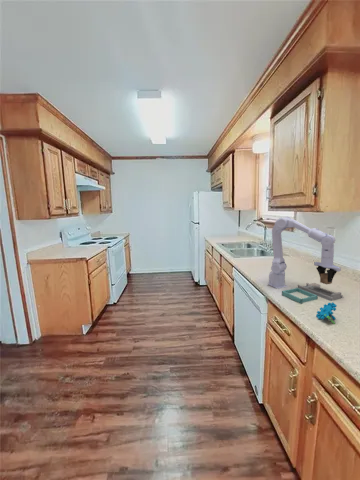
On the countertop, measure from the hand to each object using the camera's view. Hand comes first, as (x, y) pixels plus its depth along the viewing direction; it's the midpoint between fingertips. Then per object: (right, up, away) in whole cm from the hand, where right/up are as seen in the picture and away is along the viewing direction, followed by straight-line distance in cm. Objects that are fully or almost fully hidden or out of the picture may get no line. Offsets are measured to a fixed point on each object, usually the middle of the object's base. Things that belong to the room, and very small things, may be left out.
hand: (326, 280), depth 131 cm
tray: (-15, -10, +1) cm, 18 cm away
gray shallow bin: (-1, -8, +5) cm, 10 cm away
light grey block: (-2, -8, +8) cm, 12 cm away
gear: (-15, -14, -24) cm, 31 cm away
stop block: (0, -1, 0) cm, 1 cm away
